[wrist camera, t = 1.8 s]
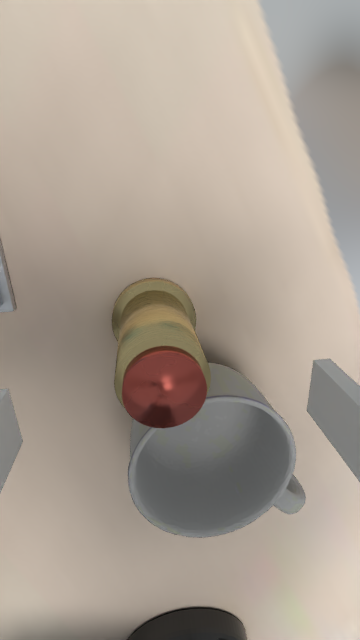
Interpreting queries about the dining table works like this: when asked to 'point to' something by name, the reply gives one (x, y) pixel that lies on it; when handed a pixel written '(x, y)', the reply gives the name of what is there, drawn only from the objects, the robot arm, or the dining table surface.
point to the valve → (158, 354)
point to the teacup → (215, 463)
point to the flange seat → (5, 286)
